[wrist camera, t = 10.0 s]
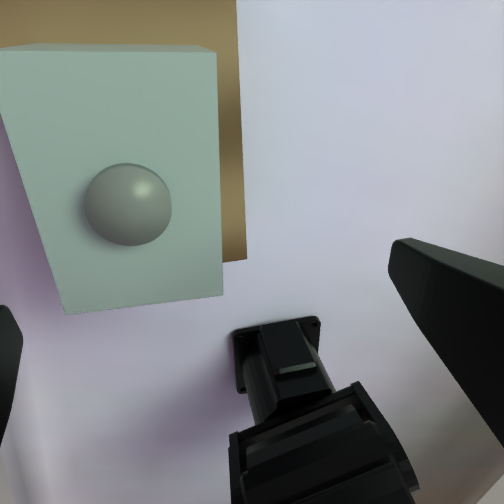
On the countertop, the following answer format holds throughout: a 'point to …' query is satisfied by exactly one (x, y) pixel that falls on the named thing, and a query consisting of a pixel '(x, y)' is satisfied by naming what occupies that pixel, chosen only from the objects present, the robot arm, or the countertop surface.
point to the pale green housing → (119, 168)
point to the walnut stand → (157, 33)
